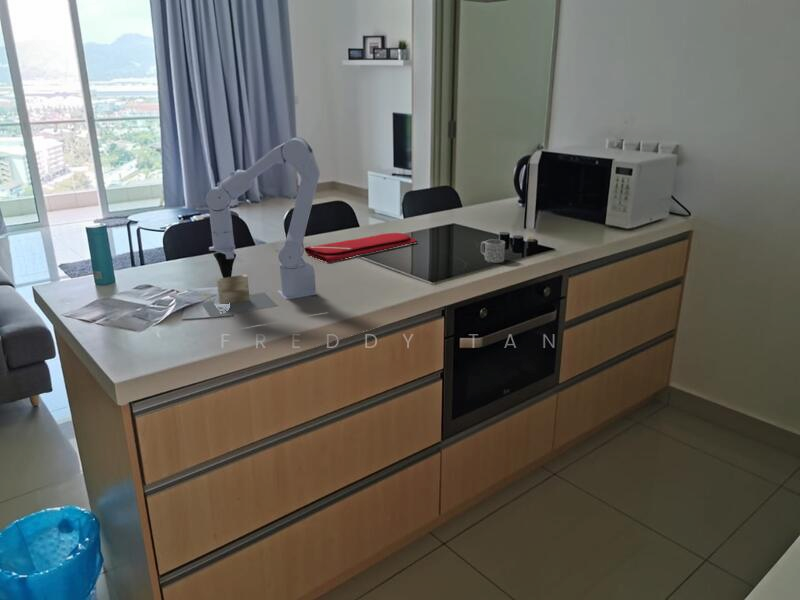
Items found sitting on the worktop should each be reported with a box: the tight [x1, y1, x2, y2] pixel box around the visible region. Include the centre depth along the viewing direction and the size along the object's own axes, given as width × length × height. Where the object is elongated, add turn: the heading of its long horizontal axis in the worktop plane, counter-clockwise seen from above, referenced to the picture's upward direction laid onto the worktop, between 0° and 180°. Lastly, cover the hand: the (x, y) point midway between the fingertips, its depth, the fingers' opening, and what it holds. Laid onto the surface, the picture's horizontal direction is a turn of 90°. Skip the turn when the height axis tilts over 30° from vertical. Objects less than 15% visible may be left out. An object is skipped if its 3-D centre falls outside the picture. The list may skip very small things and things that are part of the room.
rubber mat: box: [201, 292, 279, 319], centre depth 166 cm, size 18×13×1 cm
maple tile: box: [216, 274, 250, 304], centre depth 167 cm, size 8×2×7 cm, turn 118°
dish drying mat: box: [304, 232, 418, 263], centre depth 222 cm, size 16×41×4 cm, turn 129°
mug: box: [480, 238, 506, 264], centre depth 207 cm, size 10×7×7 cm
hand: (227, 277), depth 171 cm, fingers closed
